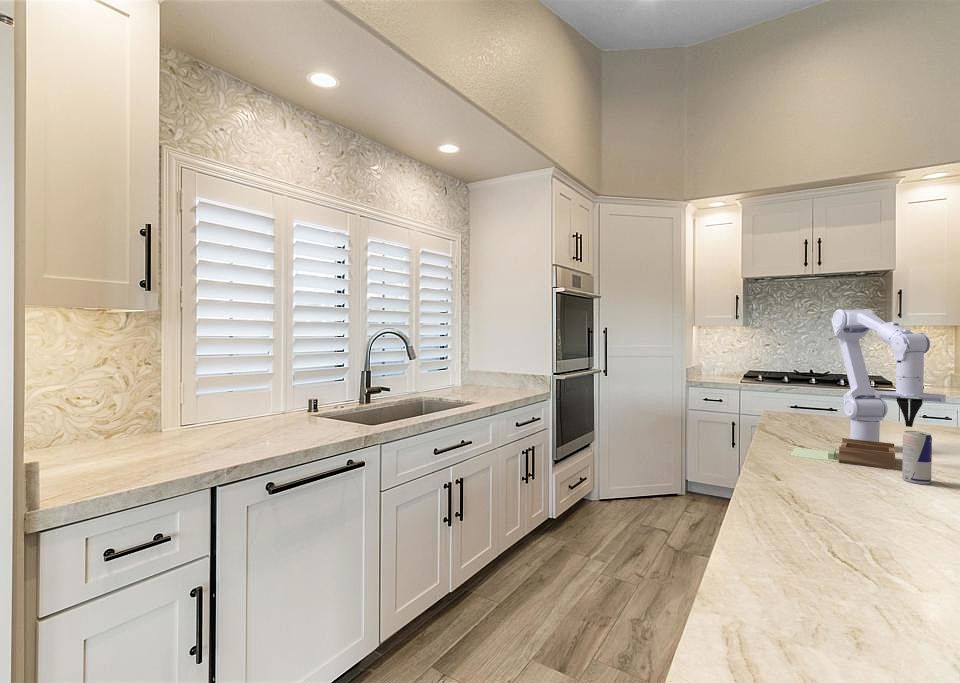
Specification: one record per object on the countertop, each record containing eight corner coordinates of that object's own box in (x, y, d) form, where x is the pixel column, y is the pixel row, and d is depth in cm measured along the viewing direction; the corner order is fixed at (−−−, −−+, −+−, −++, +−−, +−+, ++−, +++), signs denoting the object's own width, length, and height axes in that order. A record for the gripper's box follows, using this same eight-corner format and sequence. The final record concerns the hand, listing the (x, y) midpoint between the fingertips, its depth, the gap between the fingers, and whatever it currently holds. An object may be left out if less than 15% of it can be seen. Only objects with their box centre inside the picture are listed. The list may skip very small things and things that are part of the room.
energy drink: (937, 484, 119) (938, 435, 119) (914, 484, 119) (915, 435, 119) (918, 478, 125) (918, 430, 124) (896, 478, 125) (897, 430, 124)
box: (842, 452, 150) (842, 438, 150) (894, 458, 142) (894, 443, 142) (838, 462, 139) (839, 447, 139) (894, 470, 131) (895, 453, 131)
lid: (795, 449, 157) (795, 442, 157) (840, 454, 149) (840, 447, 149) (790, 457, 147) (790, 449, 147) (838, 463, 140) (838, 455, 140)
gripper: (875, 376, 138) (875, 425, 138) (947, 379, 129) (946, 431, 129) (876, 374, 144) (875, 421, 144) (944, 377, 134) (943, 427, 135)
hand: (908, 426), depth 137 cm, fingers closed
